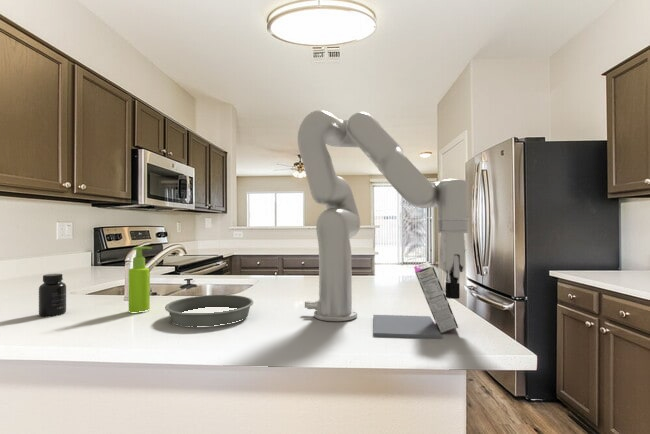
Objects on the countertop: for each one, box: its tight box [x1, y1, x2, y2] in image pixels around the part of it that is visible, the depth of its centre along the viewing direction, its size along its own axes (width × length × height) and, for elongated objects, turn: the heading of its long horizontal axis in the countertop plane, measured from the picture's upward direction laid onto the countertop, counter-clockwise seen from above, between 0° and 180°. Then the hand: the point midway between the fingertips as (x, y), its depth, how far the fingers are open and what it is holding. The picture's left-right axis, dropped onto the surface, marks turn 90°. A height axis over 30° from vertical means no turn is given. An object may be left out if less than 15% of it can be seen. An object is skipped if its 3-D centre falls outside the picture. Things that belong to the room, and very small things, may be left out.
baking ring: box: [164, 294, 254, 328], centre depth 112 cm, size 25×25×4 cm
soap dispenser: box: [128, 246, 153, 312], centre depth 120 cm, size 6×7×20 cm
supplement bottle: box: [38, 273, 67, 318], centre depth 116 cm, size 7×7×12 cm
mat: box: [372, 314, 443, 339], centre depth 101 cm, size 16×18×1 cm
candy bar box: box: [413, 260, 459, 334], centre depth 100 cm, size 11×5×16 cm, turn 168°
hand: (452, 297), depth 100 cm, fingers closed
